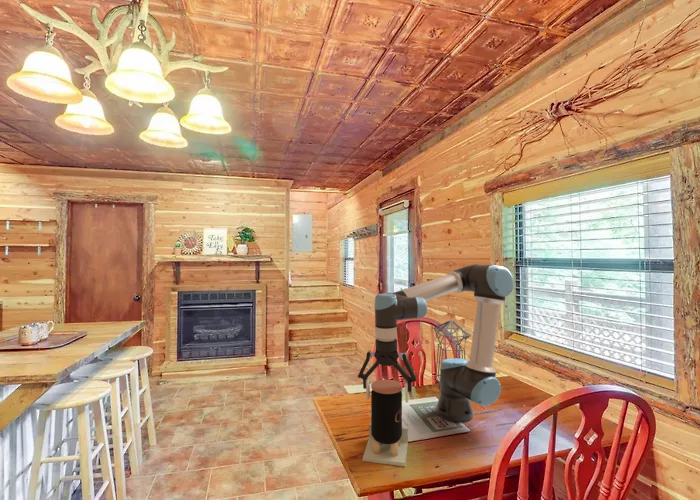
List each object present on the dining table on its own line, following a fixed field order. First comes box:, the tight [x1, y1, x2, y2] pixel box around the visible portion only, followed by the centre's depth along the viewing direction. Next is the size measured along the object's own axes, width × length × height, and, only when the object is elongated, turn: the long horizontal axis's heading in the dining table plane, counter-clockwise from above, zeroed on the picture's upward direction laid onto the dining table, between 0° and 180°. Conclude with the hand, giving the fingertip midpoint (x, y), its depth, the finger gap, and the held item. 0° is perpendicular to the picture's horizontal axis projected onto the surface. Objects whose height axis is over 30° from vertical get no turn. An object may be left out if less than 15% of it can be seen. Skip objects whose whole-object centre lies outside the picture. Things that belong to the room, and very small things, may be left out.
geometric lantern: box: [431, 319, 472, 389], centre depth 177 cm, size 16×16×35 cm
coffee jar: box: [370, 379, 403, 444], centre depth 123 cm, size 11×11×18 cm
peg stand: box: [362, 422, 409, 467], centre depth 123 cm, size 14×14×6 cm
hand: (387, 399), depth 123 cm, fingers open, 13 cm apart
